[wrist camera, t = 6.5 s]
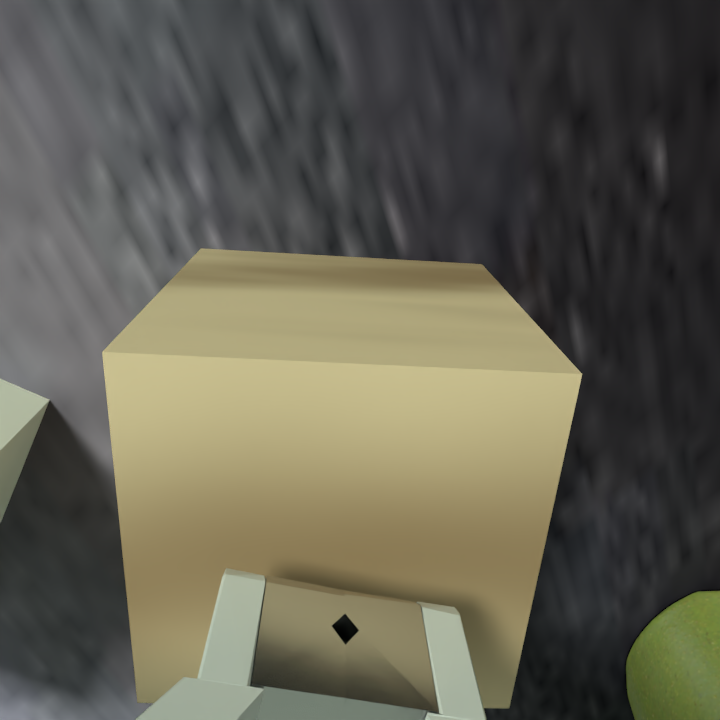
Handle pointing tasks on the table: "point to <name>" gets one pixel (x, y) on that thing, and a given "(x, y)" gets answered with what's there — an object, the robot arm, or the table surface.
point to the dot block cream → (16, 434)
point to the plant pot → (678, 662)
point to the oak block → (334, 446)
